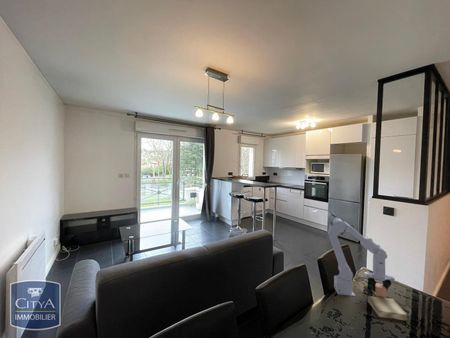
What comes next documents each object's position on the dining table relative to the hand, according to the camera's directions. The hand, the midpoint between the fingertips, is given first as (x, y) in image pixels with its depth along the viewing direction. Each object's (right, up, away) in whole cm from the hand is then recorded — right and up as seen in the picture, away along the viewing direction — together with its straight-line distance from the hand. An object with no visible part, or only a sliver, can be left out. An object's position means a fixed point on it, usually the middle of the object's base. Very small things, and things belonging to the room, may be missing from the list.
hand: (379, 291), depth 114 cm
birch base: (-4, -3, -10) cm, 12 cm away
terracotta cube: (0, -1, 0) cm, 1 cm away
